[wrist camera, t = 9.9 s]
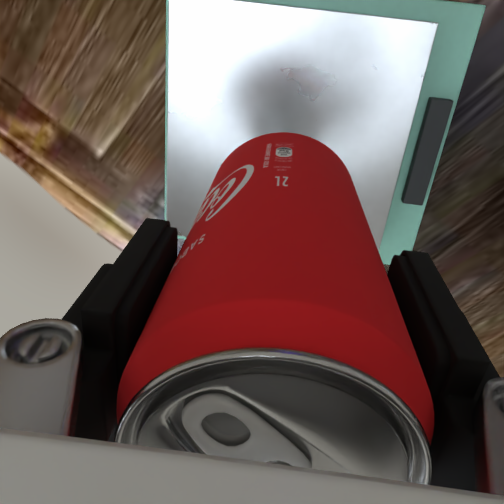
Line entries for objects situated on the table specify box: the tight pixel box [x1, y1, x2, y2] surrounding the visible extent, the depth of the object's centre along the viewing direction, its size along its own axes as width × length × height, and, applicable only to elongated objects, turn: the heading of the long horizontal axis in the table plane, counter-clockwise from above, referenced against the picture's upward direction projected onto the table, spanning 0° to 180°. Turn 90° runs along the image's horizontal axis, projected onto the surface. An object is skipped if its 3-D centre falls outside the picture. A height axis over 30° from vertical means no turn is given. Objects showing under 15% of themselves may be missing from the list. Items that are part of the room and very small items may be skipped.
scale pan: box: [166, 0, 439, 252], centre depth 25 cm, size 13×13×1 cm
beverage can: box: [114, 132, 434, 485], centre depth 12 cm, size 5×5×12 cm
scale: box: [165, 0, 486, 265], centre depth 27 cm, size 16×15×4 cm
